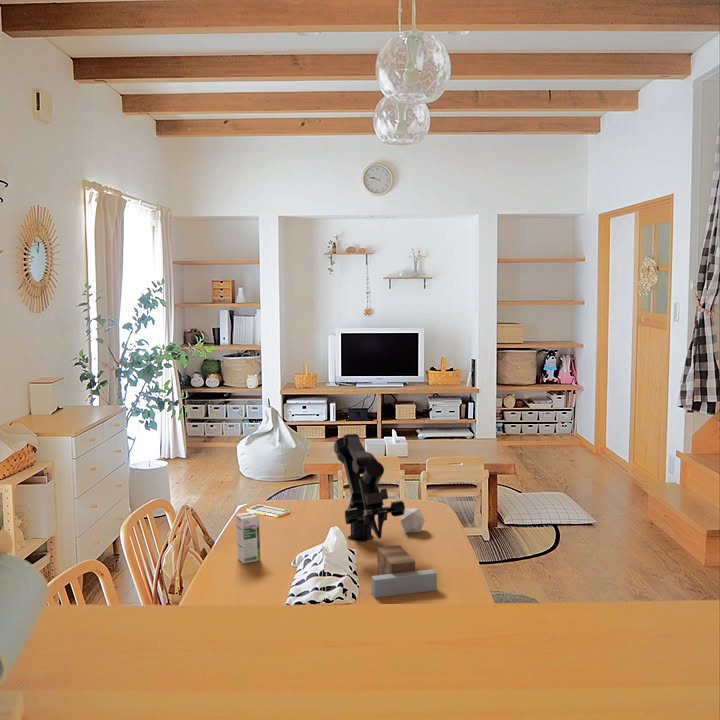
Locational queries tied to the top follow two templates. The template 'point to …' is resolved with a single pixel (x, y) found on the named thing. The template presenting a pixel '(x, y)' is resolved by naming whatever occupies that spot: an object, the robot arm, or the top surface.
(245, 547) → the syrup box
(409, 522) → the die
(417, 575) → the board
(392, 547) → the walnut block
